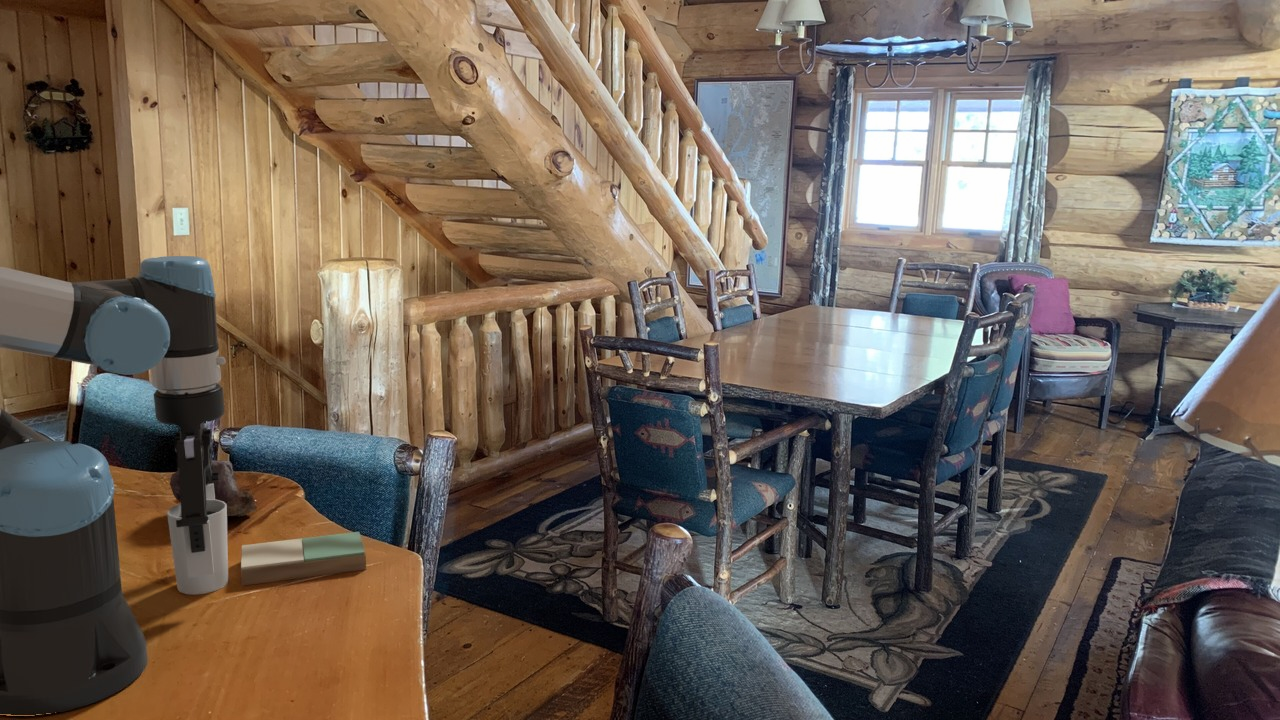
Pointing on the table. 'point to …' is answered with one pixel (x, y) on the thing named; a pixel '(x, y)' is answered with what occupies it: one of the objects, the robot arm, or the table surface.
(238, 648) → the table surface
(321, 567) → the cream and green board
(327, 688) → the table surface
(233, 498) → the rock
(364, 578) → the table surface
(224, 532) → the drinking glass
